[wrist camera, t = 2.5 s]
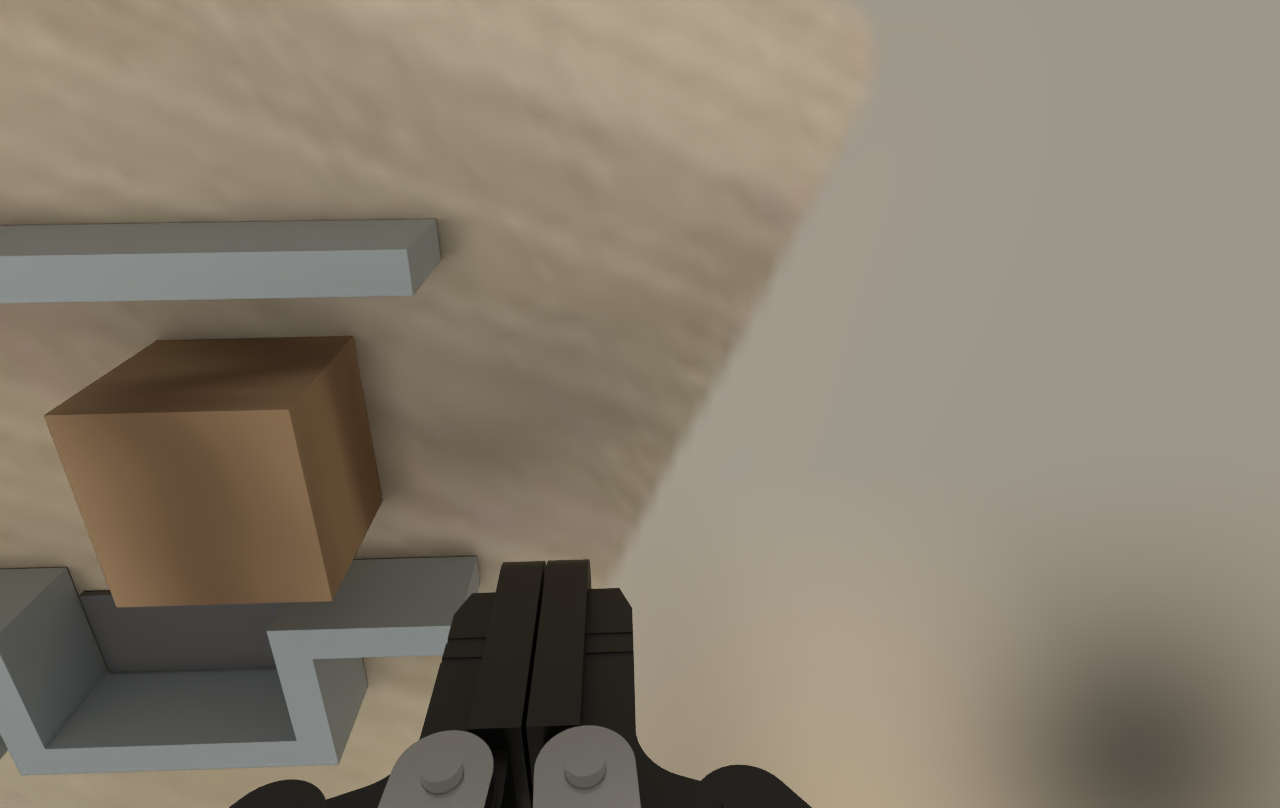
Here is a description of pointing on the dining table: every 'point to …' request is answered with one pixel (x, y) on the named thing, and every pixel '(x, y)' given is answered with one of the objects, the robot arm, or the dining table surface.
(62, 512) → the dining table surface
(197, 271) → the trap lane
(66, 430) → the walnut block
